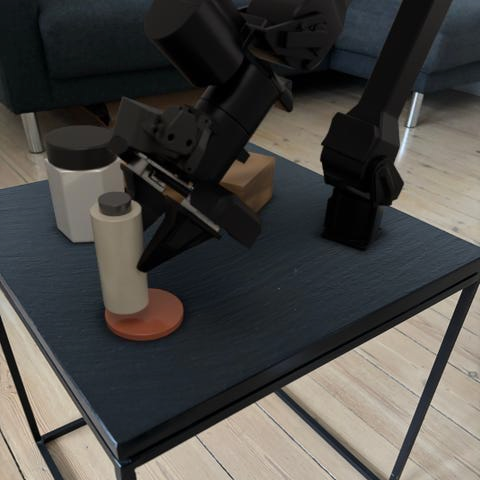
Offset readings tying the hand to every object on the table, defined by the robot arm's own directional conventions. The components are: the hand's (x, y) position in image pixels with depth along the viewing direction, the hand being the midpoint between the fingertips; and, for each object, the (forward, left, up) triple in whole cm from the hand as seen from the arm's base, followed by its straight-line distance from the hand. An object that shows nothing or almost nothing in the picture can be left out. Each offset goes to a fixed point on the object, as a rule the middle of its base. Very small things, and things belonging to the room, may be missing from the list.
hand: (127, 259), depth 48 cm
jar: (+18, -11, -7) cm, 22 cm away
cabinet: (+9, -28, -7) cm, 30 cm away
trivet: (0, -1, -7) cm, 7 cm away
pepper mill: (0, +1, -5) cm, 5 cm away
